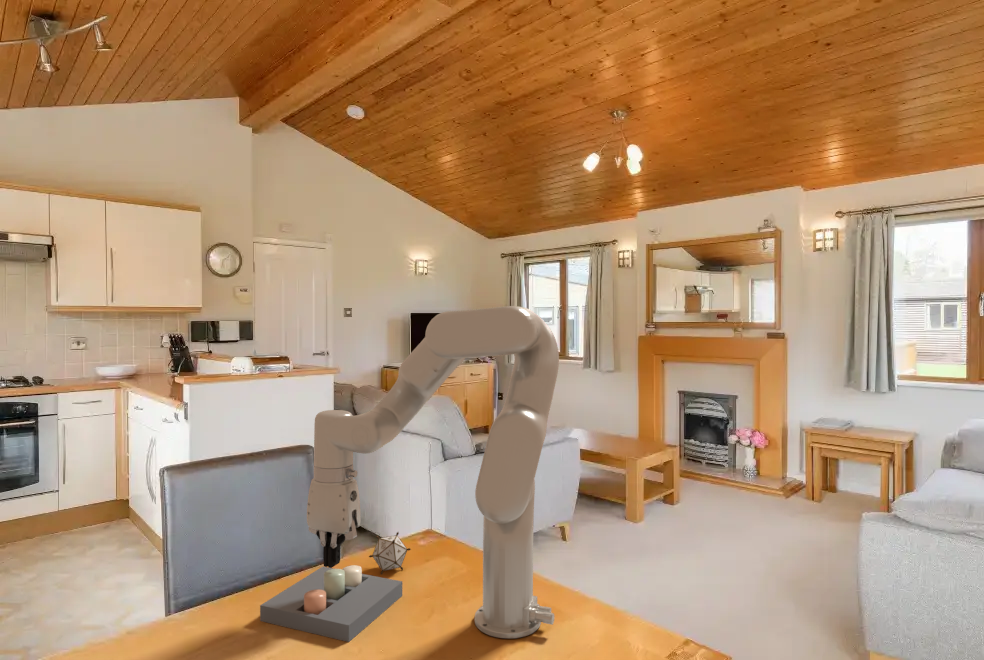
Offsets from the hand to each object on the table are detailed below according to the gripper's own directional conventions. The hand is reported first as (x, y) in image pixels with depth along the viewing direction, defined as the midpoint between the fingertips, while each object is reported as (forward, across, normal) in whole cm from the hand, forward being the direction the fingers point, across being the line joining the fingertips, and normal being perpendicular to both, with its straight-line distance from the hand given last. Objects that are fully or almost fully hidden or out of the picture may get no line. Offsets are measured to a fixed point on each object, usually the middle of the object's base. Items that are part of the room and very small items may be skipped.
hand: (331, 564), depth 119 cm
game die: (+9, -2, -20) cm, 22 cm away
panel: (+9, -1, 0) cm, 9 cm away
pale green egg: (+7, -1, 0) cm, 7 cm away
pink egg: (+8, -1, +6) cm, 10 cm away
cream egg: (+8, -1, -6) cm, 10 cm away
